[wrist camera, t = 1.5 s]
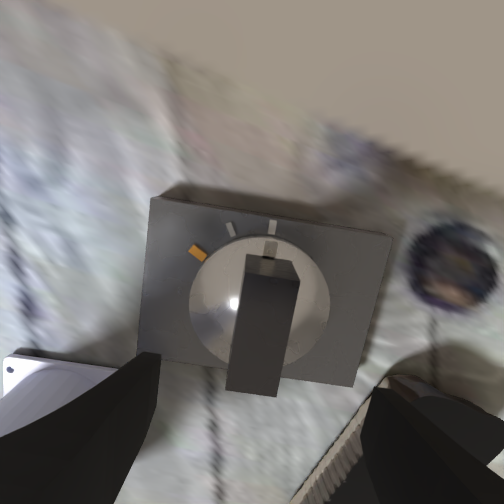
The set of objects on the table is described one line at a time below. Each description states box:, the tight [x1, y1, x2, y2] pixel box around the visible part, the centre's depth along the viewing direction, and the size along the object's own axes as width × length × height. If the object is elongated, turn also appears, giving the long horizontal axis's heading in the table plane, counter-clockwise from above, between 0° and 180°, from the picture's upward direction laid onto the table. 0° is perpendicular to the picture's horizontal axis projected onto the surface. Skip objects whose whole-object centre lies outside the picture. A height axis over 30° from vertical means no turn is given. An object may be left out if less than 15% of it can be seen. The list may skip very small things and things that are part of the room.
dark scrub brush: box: [289, 375, 504, 504], centre depth 23 cm, size 16×8×4 cm, turn 150°
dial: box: [189, 235, 330, 397], centre depth 17 cm, size 8×8×4 cm
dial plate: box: [136, 196, 393, 388], centre depth 20 cm, size 10×14×2 cm
